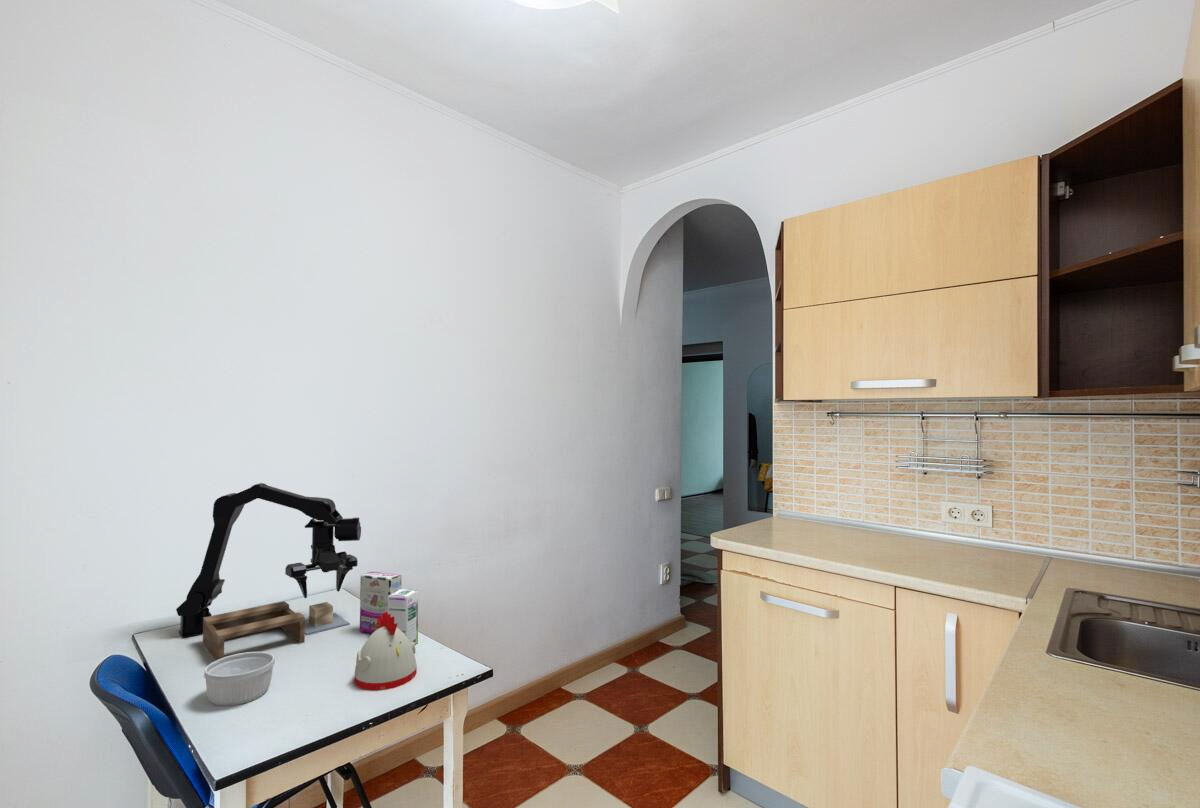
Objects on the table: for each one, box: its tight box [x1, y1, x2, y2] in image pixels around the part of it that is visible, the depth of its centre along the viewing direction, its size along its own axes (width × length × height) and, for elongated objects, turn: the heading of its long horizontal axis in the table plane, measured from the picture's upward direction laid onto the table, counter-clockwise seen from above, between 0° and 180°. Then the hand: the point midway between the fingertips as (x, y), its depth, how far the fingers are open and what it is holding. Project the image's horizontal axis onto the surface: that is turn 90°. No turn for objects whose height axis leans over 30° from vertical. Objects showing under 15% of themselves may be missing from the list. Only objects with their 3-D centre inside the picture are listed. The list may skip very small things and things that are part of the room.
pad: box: [305, 612, 350, 636], centre depth 169 cm, size 12×12×1 cm
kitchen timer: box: [353, 612, 418, 691], centre depth 136 cm, size 14×14×15 cm
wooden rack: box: [202, 600, 306, 661], centre depth 155 cm, size 20×18×7 cm
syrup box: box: [388, 588, 419, 645], centre depth 153 cm, size 6×6×14 cm
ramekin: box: [203, 651, 276, 707], centre depth 126 cm, size 13×13×7 cm
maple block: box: [308, 601, 334, 627], centre depth 169 cm, size 5×5×5 cm
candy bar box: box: [359, 571, 402, 635], centre depth 163 cm, size 11×5×16 cm, turn 68°
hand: (322, 594), depth 169 cm, fingers open, 9 cm apart
